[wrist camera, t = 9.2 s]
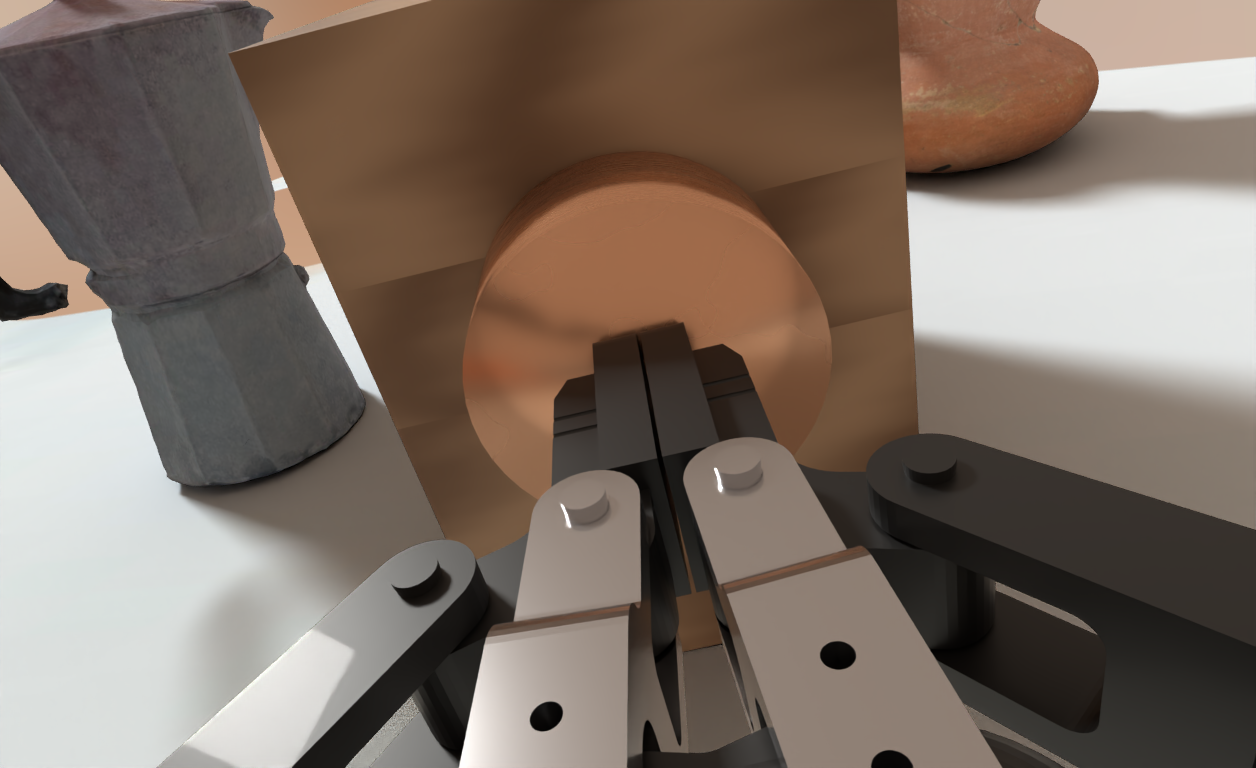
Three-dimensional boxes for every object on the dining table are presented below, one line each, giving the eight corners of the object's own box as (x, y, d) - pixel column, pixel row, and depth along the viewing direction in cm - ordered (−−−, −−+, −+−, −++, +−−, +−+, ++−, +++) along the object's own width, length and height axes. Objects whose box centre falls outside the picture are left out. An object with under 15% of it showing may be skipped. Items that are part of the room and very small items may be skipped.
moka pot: (460, 378, 37) (271, -114, 27) (123, 587, 29) (-323, -11, 19) (363, 341, 44) (183, -67, 34) (66, 503, 35) (-289, 25, 26)
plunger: (524, 557, 15) (406, 255, 12) (544, 208, 33) (501, 57, 30) (847, 484, 14) (811, 156, 11) (686, 173, 33) (656, 17, 30)
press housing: (513, 688, 21) (227, 53, 13) (533, 365, 37) (409, -13, 29) (926, 598, 20) (891, -121, 13) (768, 310, 36) (708, -91, 28)
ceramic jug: (1005, 96, 56) (1002, -140, 49) (1180, 129, 43) (1208, -183, 36) (767, 175, 54) (728, -58, 47) (875, 232, 41) (845, -74, 34)
